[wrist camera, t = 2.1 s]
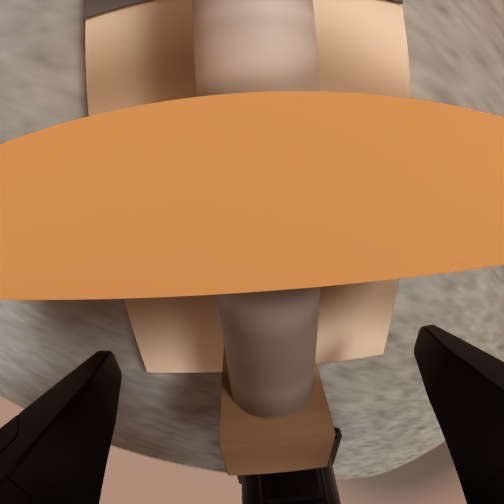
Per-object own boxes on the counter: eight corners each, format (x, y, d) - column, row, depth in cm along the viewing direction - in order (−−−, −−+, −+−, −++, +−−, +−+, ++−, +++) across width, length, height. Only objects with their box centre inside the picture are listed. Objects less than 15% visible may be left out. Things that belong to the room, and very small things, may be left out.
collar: (440, 178, 9) (579, 250, 3) (68, 202, 9) (-63, 297, 3) (442, 119, 8) (595, 151, 3) (58, 141, 8) (-94, 190, 2)
